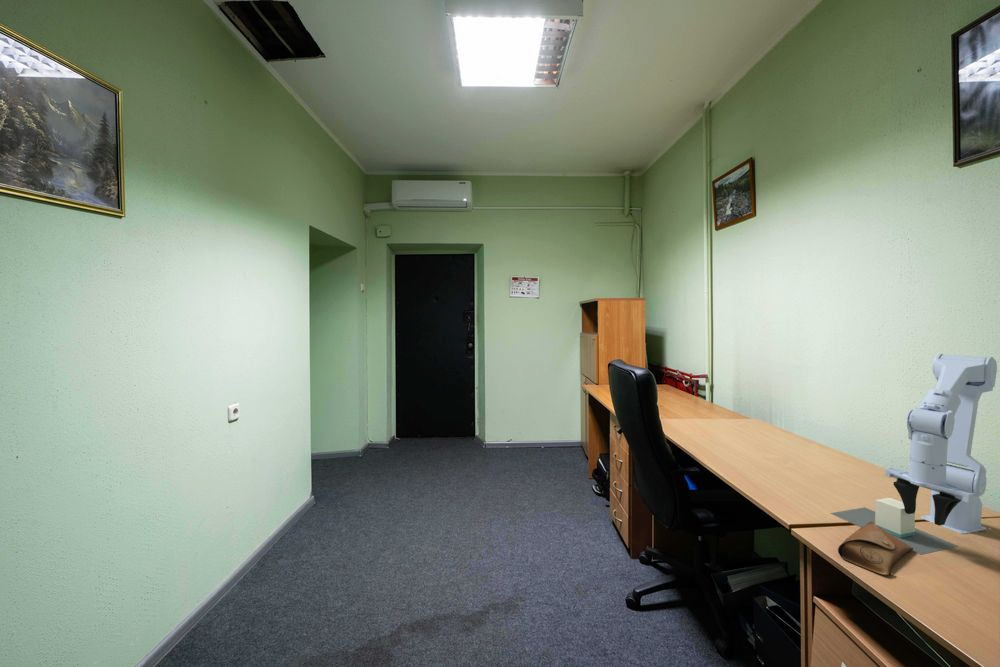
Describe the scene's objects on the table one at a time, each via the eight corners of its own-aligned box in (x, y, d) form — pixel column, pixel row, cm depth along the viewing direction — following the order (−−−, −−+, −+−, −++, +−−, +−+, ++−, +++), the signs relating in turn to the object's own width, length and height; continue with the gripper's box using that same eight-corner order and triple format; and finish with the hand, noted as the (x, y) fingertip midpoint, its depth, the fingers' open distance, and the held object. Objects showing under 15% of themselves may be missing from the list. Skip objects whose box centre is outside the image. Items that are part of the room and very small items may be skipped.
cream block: (889, 524, 97) (889, 497, 97) (914, 534, 92) (914, 506, 92) (875, 527, 96) (875, 499, 96) (900, 537, 91) (900, 509, 91)
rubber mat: (864, 508, 106) (864, 507, 106) (958, 547, 88) (958, 546, 88) (830, 514, 103) (830, 513, 103) (920, 556, 85) (920, 554, 85)
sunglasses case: (890, 576, 77) (868, 541, 80) (851, 577, 82) (832, 543, 85) (915, 548, 86) (895, 516, 89) (878, 549, 92) (860, 520, 94)
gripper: (877, 452, 94) (874, 505, 95) (961, 475, 80) (957, 538, 81) (897, 449, 96) (894, 502, 97) (982, 472, 82) (978, 533, 83)
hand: (924, 518), depth 89 cm, fingers open, 5 cm apart
